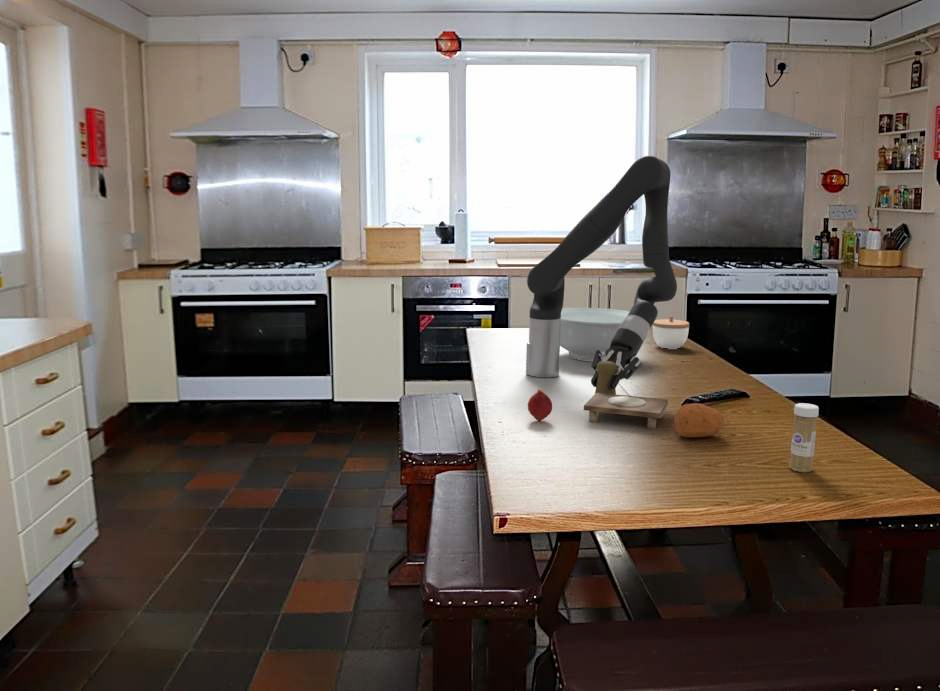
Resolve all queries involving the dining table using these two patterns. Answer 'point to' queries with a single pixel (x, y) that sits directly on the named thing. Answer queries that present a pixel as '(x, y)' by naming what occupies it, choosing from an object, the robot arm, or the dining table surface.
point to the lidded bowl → (670, 332)
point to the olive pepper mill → (605, 376)
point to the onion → (540, 405)
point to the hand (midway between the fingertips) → (601, 386)
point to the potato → (698, 421)
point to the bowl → (589, 330)
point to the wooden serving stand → (626, 406)
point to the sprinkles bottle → (803, 437)
